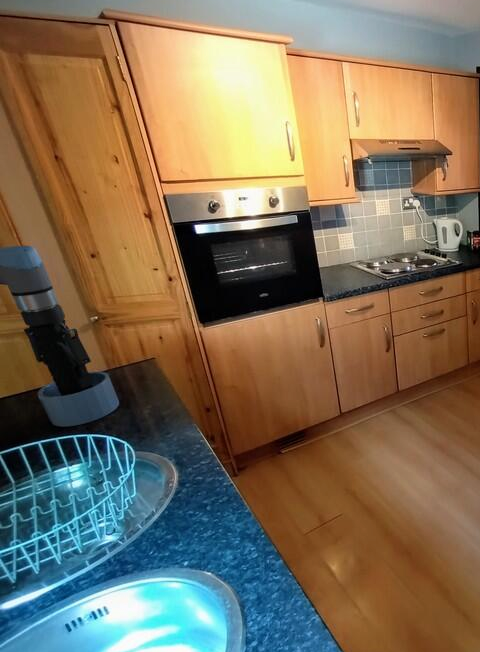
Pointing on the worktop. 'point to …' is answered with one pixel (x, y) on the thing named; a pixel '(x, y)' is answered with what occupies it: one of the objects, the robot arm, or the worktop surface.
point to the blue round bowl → (80, 402)
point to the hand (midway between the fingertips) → (74, 385)
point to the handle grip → (56, 359)
